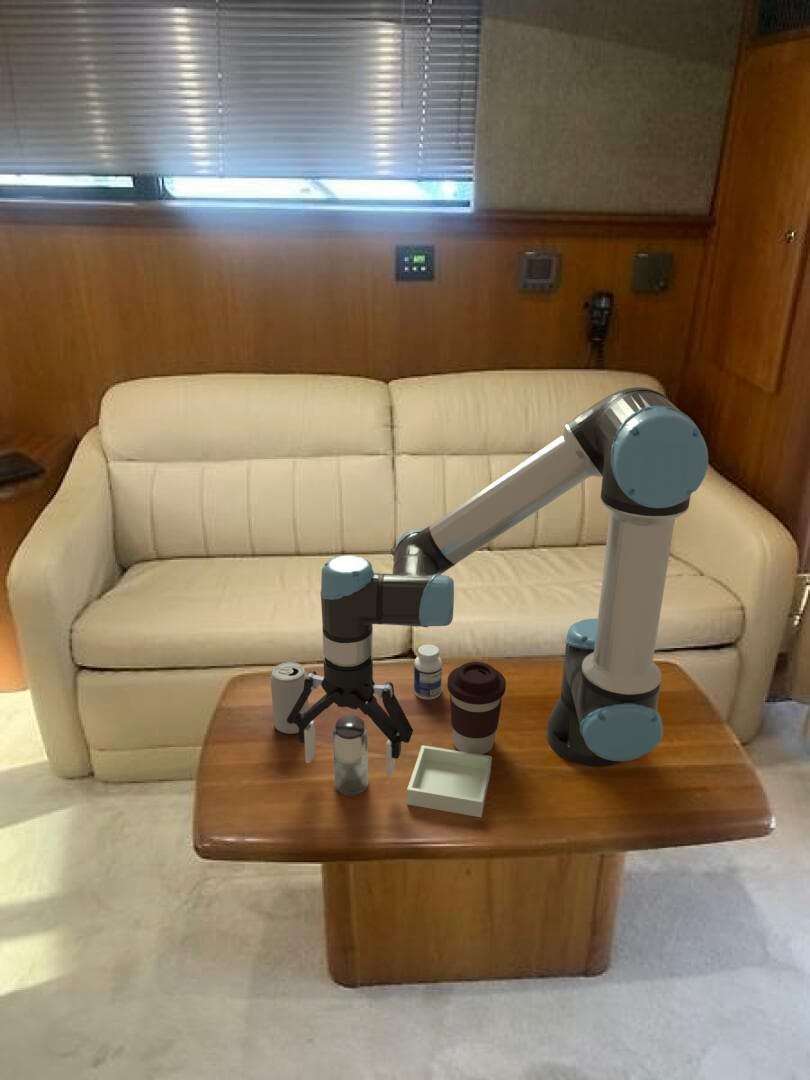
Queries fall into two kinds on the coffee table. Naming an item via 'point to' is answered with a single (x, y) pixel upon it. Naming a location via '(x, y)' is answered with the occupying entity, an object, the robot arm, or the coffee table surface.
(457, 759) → the tray
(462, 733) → the coffee cup
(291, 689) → the beverage can
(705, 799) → the coffee table surface
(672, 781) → the coffee table surface
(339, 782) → the shaker
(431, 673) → the pill bottle
